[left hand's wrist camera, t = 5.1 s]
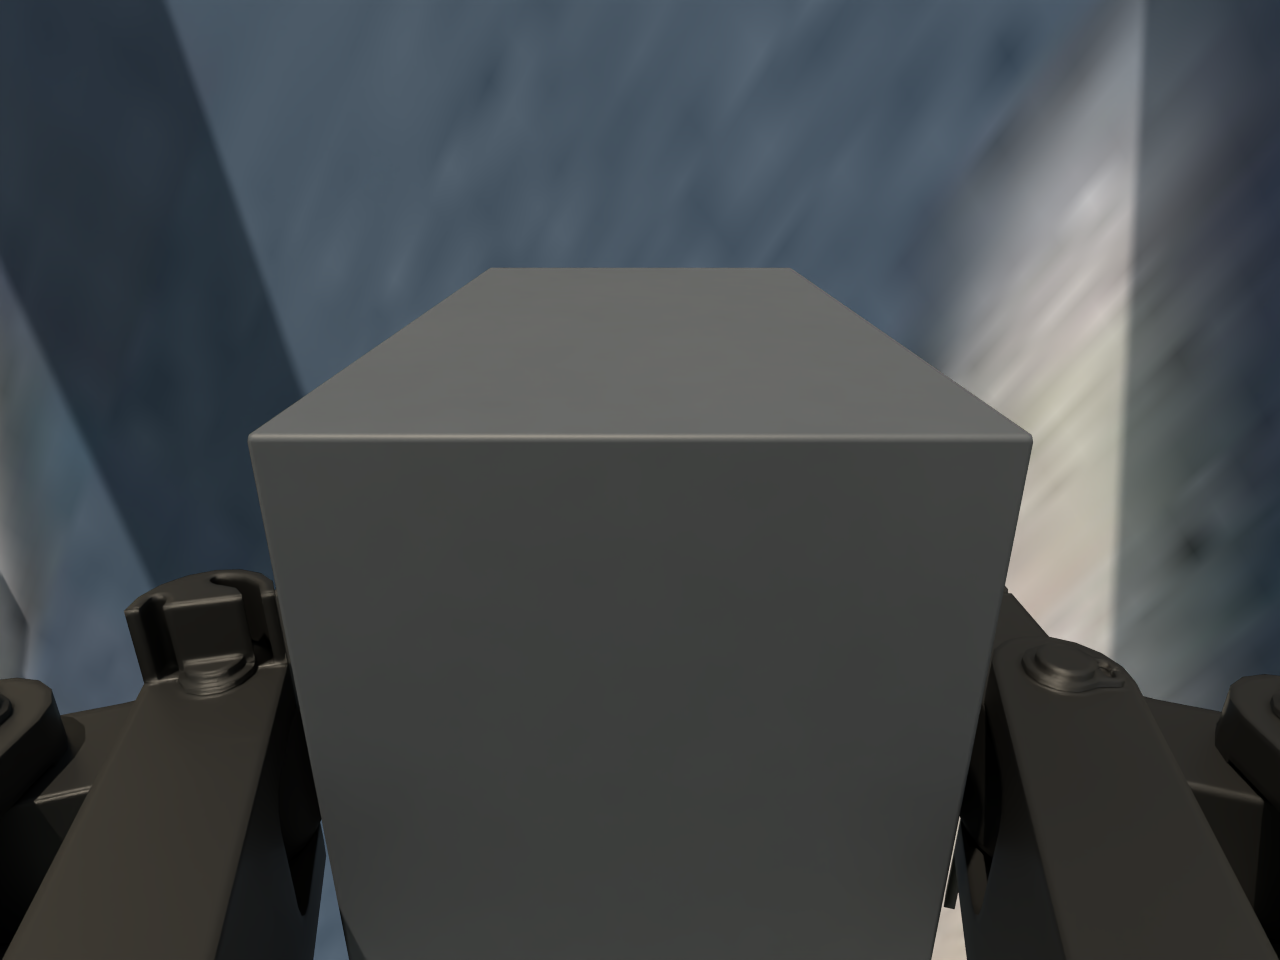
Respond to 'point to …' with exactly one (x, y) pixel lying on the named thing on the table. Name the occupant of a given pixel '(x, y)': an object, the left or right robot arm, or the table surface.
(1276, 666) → the table surface
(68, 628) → the table surface
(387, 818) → the bar
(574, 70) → the table surface
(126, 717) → the left robot arm
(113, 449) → the table surface
